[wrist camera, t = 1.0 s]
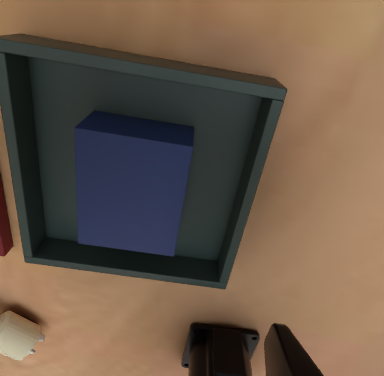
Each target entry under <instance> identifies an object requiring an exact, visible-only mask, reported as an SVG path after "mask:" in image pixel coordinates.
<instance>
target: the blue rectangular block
mask: <svg viewBox="0 0 384 376" xmlns="http://www.w3.org/2000/svg"><path fill="white" fill-rule="evenodd" d="M74 141H75V169H76V198H77V227H78V243H80V244H87V245H94V246H101V247H108V248H116V249H123V250H130V251H137V252H144V253H152V254H159V255H166V256H173V257H174V255H175V249H176V243H177V238H178V232H179V226H180V221H181V215H182V209H183V204H184V198H185V192H186V187H187V181H188V175H189V169H190V164H191V158H192V152H193V145H194V127H192V126H186V125H180V124H174V123H168V122H162V121H156V120H150V119H144V118H138V117H132V116H126V115H120V114H114V113H107V112H101V111H95V110H94V111H92V112H91V113H90V114H89V115H88V116H87V117H86V118H85V119H83V120H82V121H81V122H80V123H79V124H78V125H77V126H76V127H74Z"/></svg>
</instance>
